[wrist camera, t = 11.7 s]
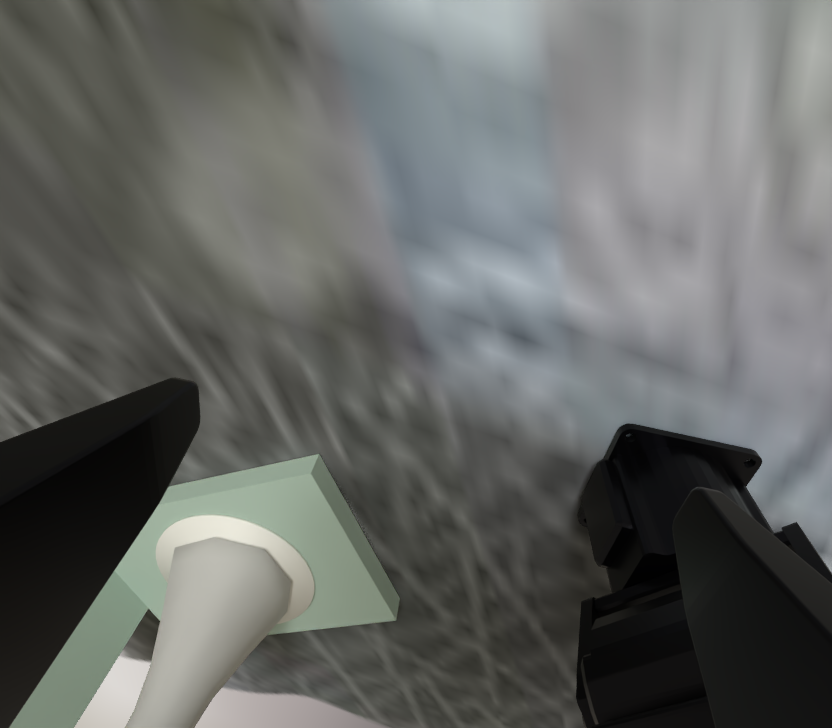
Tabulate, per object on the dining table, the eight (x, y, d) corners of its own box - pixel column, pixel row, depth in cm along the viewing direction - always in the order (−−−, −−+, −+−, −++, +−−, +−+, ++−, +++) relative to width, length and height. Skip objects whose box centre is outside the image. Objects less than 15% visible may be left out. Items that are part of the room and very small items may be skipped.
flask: (306, 617, 32) (238, 823, 23) (198, 612, 33) (95, 806, 24) (277, 534, 28) (184, 740, 19) (157, 532, 29) (20, 726, 21)
